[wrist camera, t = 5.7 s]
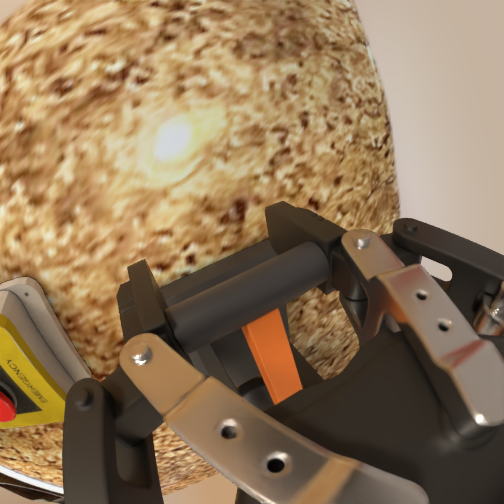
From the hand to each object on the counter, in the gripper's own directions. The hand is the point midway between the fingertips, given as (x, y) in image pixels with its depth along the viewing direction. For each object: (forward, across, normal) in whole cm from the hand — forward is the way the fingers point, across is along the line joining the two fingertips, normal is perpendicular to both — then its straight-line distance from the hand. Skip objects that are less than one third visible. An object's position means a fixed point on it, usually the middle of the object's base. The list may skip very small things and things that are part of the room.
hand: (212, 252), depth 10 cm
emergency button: (+4, +17, +2) cm, 18 cm away
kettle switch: (-3, 0, +5) cm, 6 cm away
